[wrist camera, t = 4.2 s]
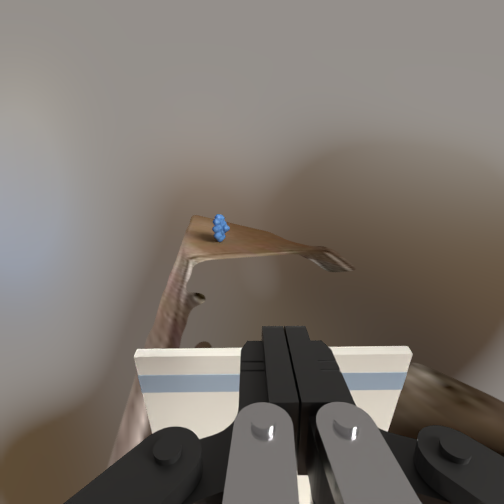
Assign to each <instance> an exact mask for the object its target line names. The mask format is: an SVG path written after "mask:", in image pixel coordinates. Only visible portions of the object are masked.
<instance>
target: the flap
mask: <svg viewBox="0 0 504 504" xmlns="http://www.w3.org/2000/svg"><path fill="white" fill-rule="evenodd" d="M329 348H330V349H331V350H332V352H333V355H334V357H335V359H336V362H337V364H338V366H339V368H340V371H341V373H342V375H343V377H344V379H345V382H346V384H347V386H348V388H349V391H350V393H351V395H352V397H353V400H354V402H355V404H356V406H357V407H359V408H361V409H362V410H364V411H365V412H366V413H367V414H369V416H370V417H371V418H372V419H373V421H374V422H375V424H376V425H377V427H378V428H380V429H382V430H384V431H387V432H388V429H389V426H390V423H391V420H392V417H393V414H394V411H395V408H396V404H397V401H398V398H399V395H400V392H401V390H402V387H403V384H404V381H405V378H406V375H407V370H408V367H409V364H410V361H411V357H412V352H411V351H410V349H409V348H408V346H376V347H375V346H370V347H329ZM241 349H242V348H184V349H137V351H136V353H135V355H134V360H135V364H136V369H137V373H138V378H139V382H140V386H141V390H142V393H143V397H144V401H145V406H146V410H147V414H148V418H149V422H150V426H151V430H152V434H153V433H154V432H156V431H158V430H161V429H163V428H167V427H174V426H177V427H184V428H187V429H190V430H191V431H193V432H194V433H195V434H196V435H197V437H198V438H199V439H202V438H205V437H208V436H211V435H214V434H217V433H219V432H221V431H223V430H224V429H226V428H227V427H228V426H229V425H230V424H231V423H232V422H233V421H234V420H235V418H236V416H237V413H238V407H239V382H240V357H241ZM297 481H298V494H299V504H310V490H311V489H310V483H309V478H308V475H297Z"/></svg>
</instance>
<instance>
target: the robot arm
mask: <svg viewBox="0 0 504 504" xmlns="http://www.w3.org/2000/svg"><path fill="white" fill-rule="evenodd" d="M297 475H308V478H309V483H310V489H311V490H310V504H504V457H503V456H501V455H499V454H498V453H496V452H494V451H492V450H491V449H489V448H487V447H486V446H484V445H482V444H480V443H479V442H477V441H475V440H474V439H472V438H470V437H469V436H467V435H465V434H463V433H461V432H459V431H457V430H455V429H452V428H449V427H444V426H437V425H434V426H427V427H425V428H423V429H422V430H421V431H420V432H419V434H418V437H417V440H416V439H412V438H409V437H405V436H401V435H397V434H393V433H390V432H387V431H384V430H382V429H380V428H378V427H377V425H376V424H375V422H374V421H373V419H372V418H371V417H370V416H369V414H367V413H366V412H365V411H364V410H362V409H361V408H359V407H357V406H356V404H355V402H354V400H353V397H352V395H351V393H350V391H349V388H348V386H347V384H346V382H345V379H344V377H343V375H342V373H341V371H340V368H339V366H338V364H337V362H336V359H335V357H334V355H333V352H332V350H331V349H330V348H329V347H328V346H327V345H326V344H325V343H323V342H322V341H310V338H309V335H308V332H307V330H306V327H305V326H284V329H283V326H262V341H247V342H246V344H245V345H244V346H243V348H242V349H241V357H240V382H239V407H238V413H237V416H236V418H235V420H234V421H233V422H232V423H231V424H230V425H229V426H228V427H227V428H226V429H224V430H223V431H221V432H219V433H217V434H214V435H211V436H208V437H205V438H202V439H199V438H198V437H197V435H196V434H195V433H194V432H193V431H191V430H190V429H187V428H184V427H177V426H174V427H167V428H163V429H161V430H158V431H156V432H154V433H153V434H151V435H150V436H148V437H147V438H146V439H145V440H143V441H142V442H141V443H140V444H138V445H137V446H136V447H134V448H133V449H132V450H131V451H129V452H128V453H127V454H126V455H124V456H123V457H122V458H121V459H119V460H118V461H117V462H116V463H114V464H113V465H112V466H110V467H109V468H108V469H107V470H105V471H104V472H103V473H102V474H100V475H99V476H98V477H97V478H95V479H94V480H93V481H92V482H90V483H89V484H88V485H86V486H85V487H84V488H83V489H81V490H80V491H79V492H78V493H76V494H75V495H74V496H73V497H71V498H70V499H69V500H67V501H66V502H65V503H64V504H299V494H298V481H297Z"/></svg>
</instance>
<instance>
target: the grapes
mask: <svg viewBox="0 0 504 504" xmlns="http://www.w3.org/2000/svg"><path fill="white" fill-rule="evenodd" d="M224 219H225V218H224V216H223V215H220V214H217V215H216V216H215V219H214V220H213V223H214V225H215V226H214V227H213V228H212V230H213V231H214V232H215V234H214V237H215V239H217V241H218V242H221V241H223V239H224V238H225V237H226V236H225V233H226V232H227V231H228V230H229V229H230V228H229V227H228V225H226V224H227V223H226V222H225V221H224Z"/></svg>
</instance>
